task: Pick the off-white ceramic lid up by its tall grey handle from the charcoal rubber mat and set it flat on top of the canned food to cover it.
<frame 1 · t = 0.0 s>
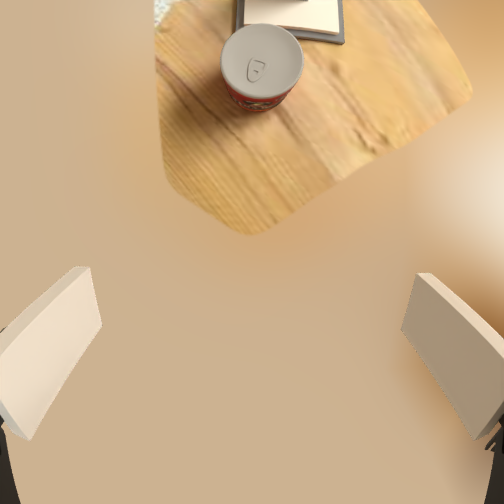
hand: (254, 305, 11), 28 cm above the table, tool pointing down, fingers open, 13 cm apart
canned food: (258, 83, 32), on the table
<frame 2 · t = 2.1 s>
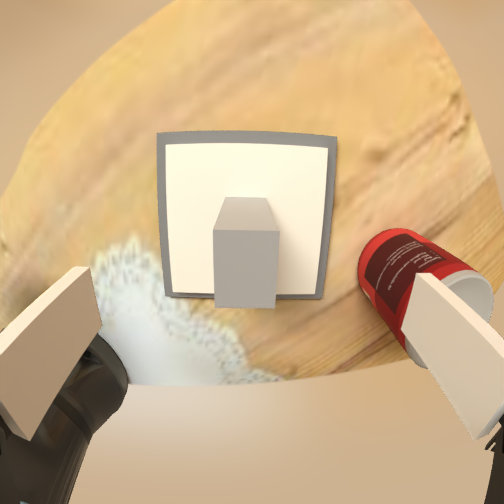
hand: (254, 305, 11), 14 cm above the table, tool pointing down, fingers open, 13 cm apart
mat: (245, 217, 24), on the table
lid: (245, 220, 23), point 1 cm above the table, touching mat
canned food: (391, 263, 26), on the table
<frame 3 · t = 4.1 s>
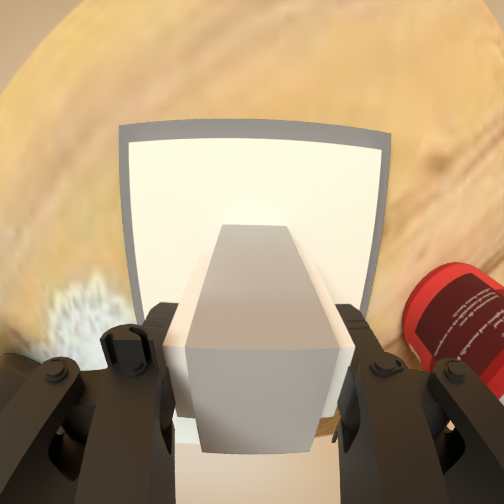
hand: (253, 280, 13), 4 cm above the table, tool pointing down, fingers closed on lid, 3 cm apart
mat: (252, 252, 16), on the table
lid: (252, 257, 15), point 1 cm above the table, touching gripper, mat
canned food: (441, 305, 18), on the table
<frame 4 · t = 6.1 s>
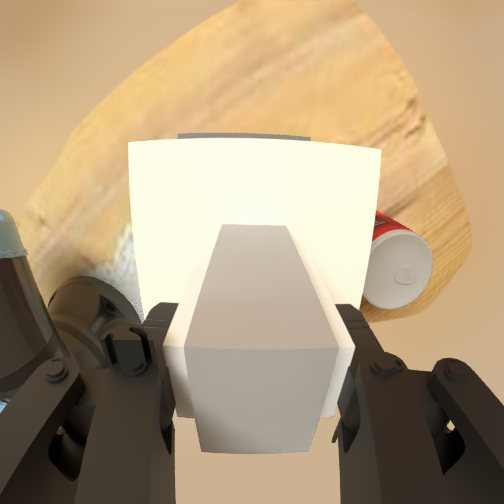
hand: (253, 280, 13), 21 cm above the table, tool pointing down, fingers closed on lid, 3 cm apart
mat: (242, 197, 32), on the table
lid: (252, 257, 15), point 18 cm above the table, touching gripper
canned food: (357, 235, 34), on the table
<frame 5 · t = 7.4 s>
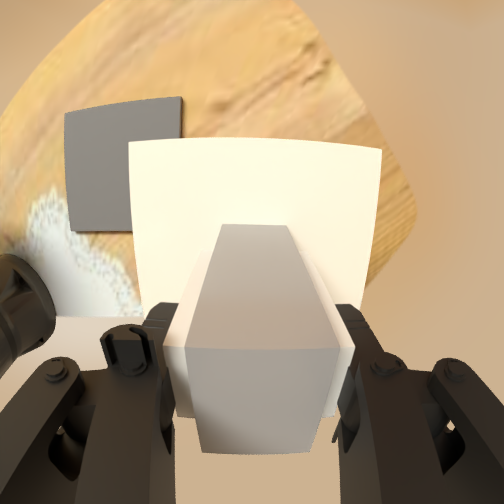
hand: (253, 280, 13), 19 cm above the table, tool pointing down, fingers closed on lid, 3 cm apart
mat: (119, 166, 29), on the table
lid: (252, 256, 15), point 16 cm above the table, touching gripper
when the fingers open (15 cm above the table, at t = 8.5 s): lid drops 1 cm, resting on canned food.
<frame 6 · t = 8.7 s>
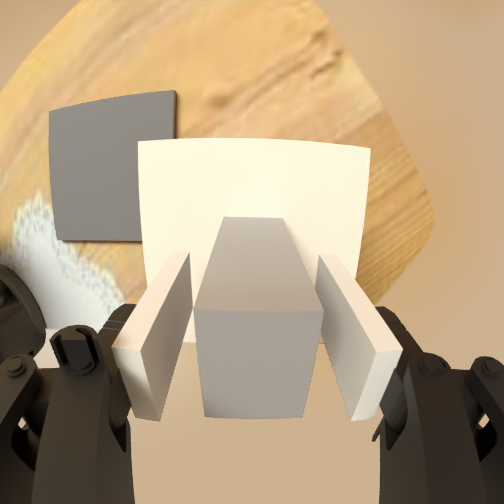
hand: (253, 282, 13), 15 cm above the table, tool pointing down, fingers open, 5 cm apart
mat: (107, 169, 25), on the table
lid: (251, 247, 17), point 11 cm above the table, touching canned food
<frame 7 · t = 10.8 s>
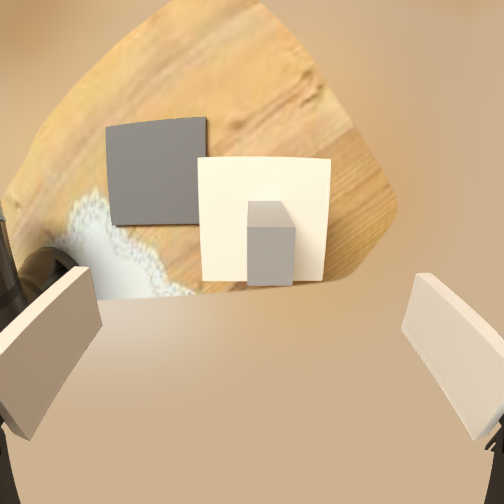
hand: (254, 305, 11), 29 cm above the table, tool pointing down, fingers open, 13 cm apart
mat: (155, 172, 37), on the table
lid: (263, 219, 28), point 11 cm above the table, touching canned food
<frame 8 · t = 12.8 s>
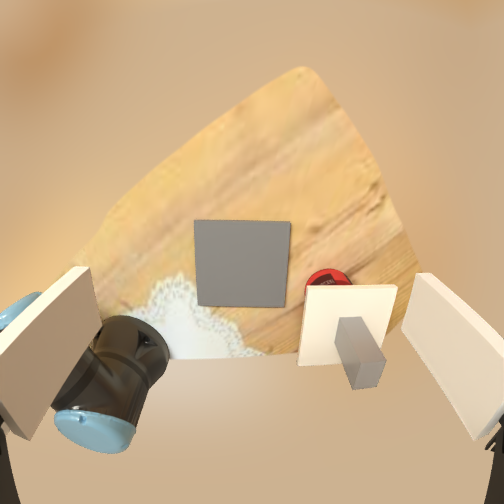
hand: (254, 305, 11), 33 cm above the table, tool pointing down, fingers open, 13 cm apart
mat: (241, 264, 46), on the table
lid: (345, 325, 37), point 11 cm above the table, touching canned food
canned food: (326, 287, 48), on the table, touching lid
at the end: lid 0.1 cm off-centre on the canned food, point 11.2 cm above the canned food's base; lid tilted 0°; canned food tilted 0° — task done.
